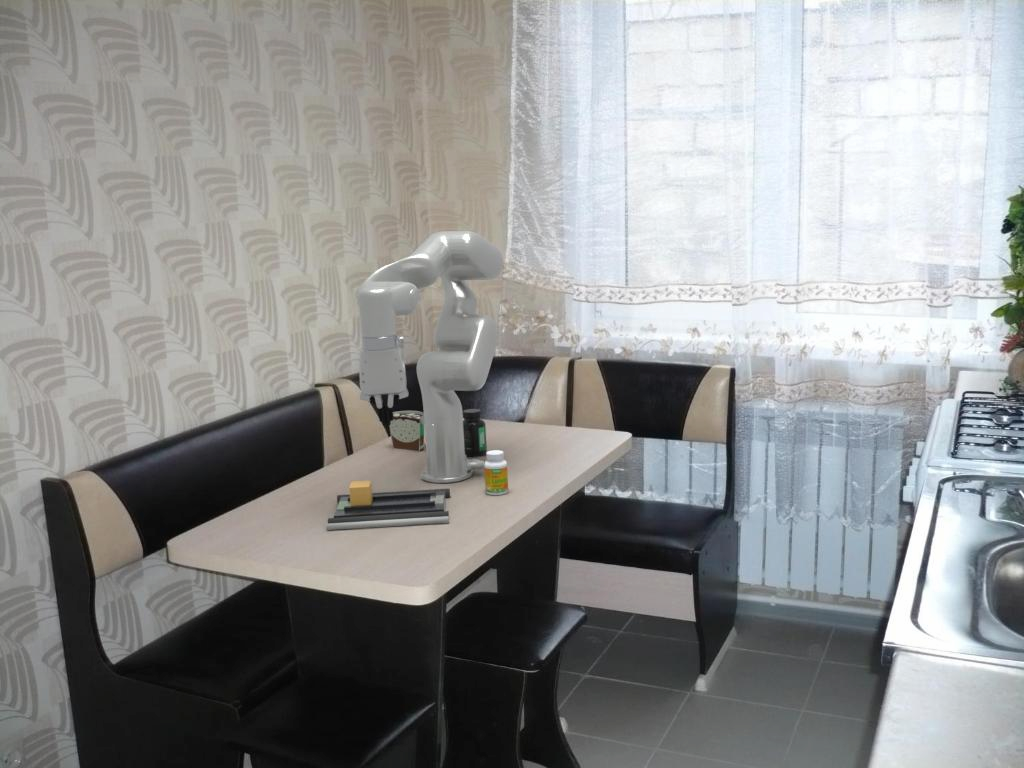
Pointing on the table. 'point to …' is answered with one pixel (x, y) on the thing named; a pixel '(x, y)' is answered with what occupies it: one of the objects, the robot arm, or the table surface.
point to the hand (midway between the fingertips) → (386, 424)
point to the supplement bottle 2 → (495, 473)
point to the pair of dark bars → (390, 516)
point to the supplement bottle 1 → (474, 433)
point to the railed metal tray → (394, 504)
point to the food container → (407, 431)
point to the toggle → (360, 493)
